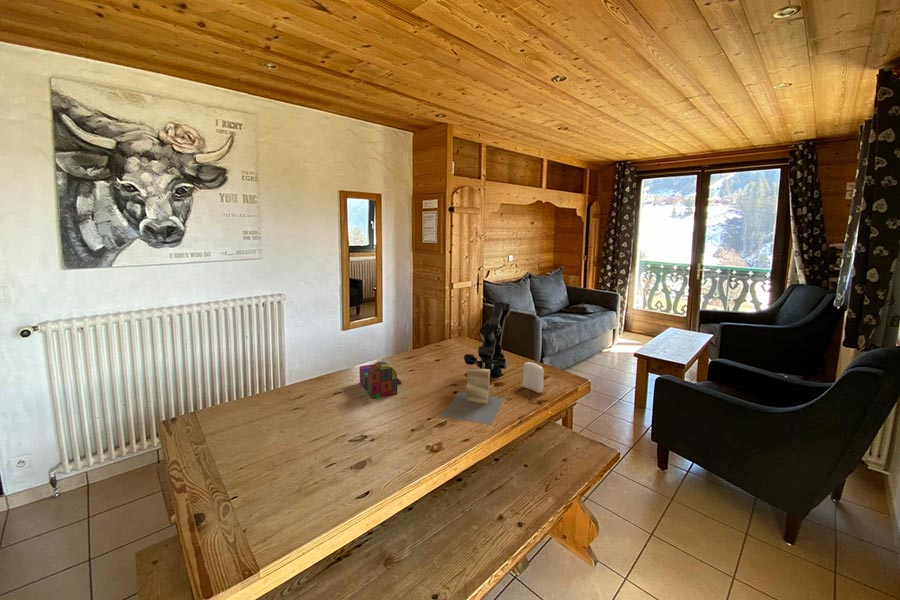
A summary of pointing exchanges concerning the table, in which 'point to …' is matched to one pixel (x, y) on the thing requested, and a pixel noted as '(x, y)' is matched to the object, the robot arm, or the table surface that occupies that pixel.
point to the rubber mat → (473, 409)
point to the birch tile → (478, 385)
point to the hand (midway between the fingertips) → (481, 378)
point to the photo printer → (533, 377)
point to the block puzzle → (379, 379)
